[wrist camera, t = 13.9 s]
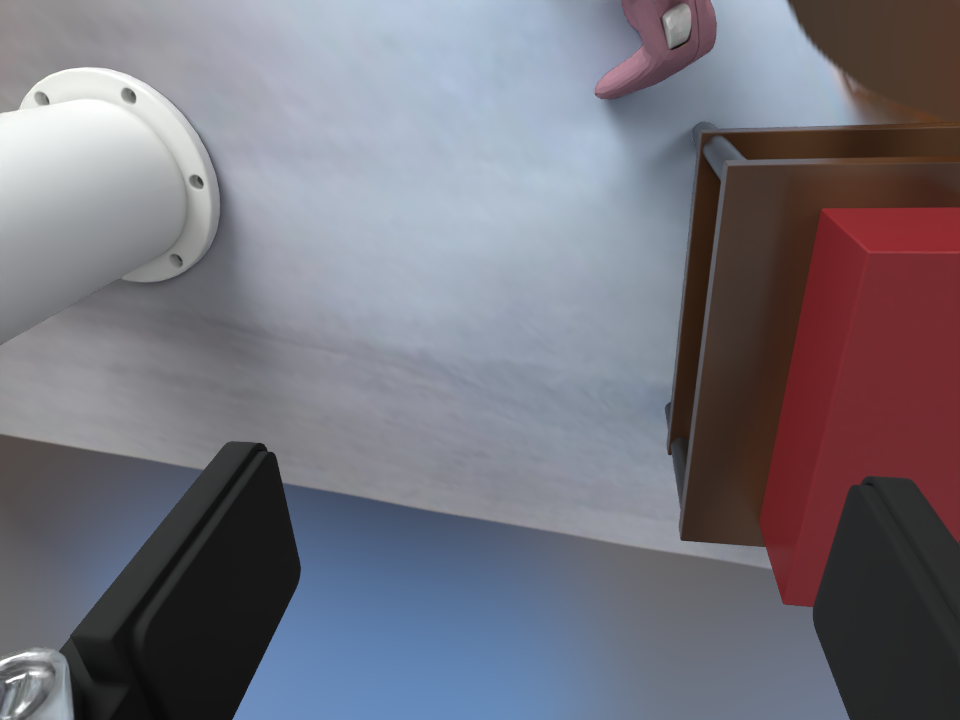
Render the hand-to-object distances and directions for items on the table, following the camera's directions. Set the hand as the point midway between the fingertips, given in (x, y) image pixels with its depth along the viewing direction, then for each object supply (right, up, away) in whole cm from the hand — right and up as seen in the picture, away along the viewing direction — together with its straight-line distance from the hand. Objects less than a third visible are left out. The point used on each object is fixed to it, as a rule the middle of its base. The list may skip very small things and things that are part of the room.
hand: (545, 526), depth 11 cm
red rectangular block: (+14, +2, +16) cm, 21 cm away
